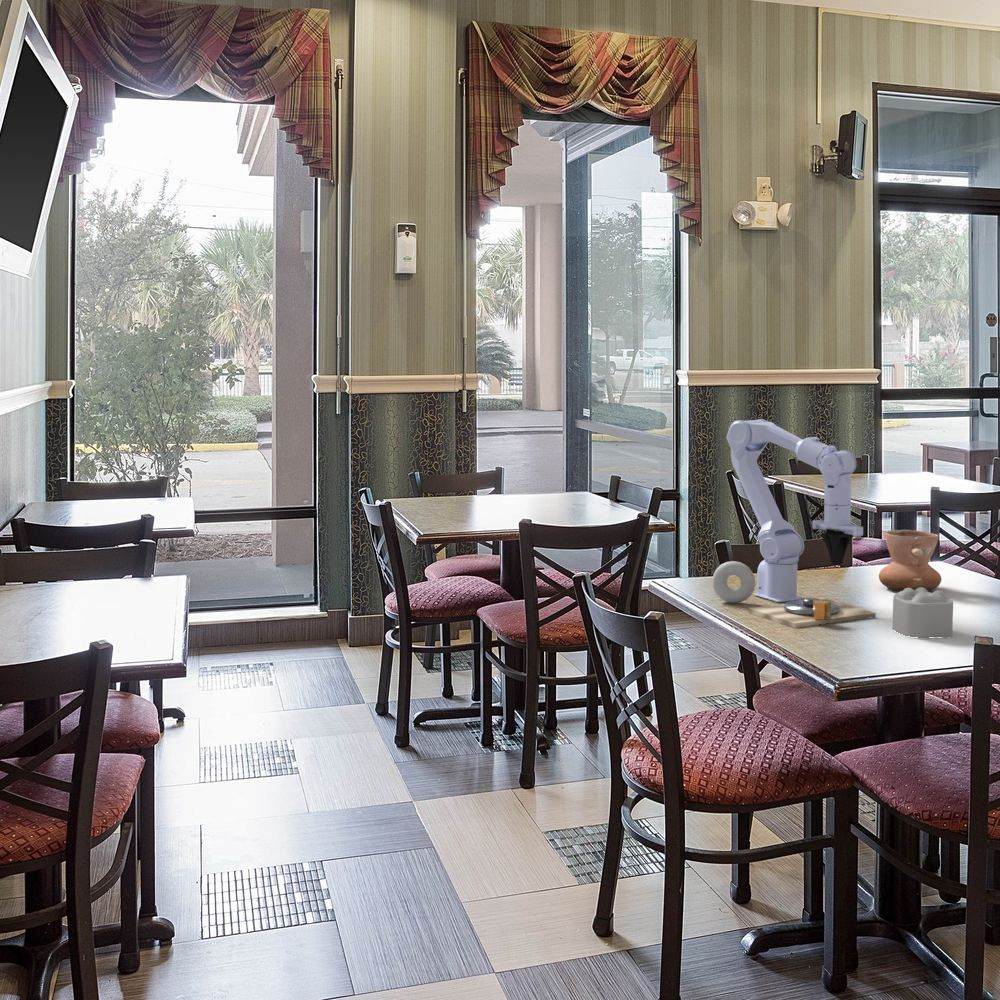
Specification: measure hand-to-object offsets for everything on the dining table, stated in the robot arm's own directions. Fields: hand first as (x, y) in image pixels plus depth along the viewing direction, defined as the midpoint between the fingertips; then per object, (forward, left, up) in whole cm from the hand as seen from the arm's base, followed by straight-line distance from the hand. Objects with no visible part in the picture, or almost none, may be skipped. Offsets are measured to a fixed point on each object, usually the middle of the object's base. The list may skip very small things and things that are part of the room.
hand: (836, 563), depth 244 cm
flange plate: (+4, -10, -9) cm, 14 cm away
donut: (-15, -17, -11) cm, 25 cm away
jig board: (+3, -9, -10) cm, 14 cm away
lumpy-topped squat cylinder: (+24, +2, -11) cm, 26 cm away
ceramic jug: (-9, +31, -11) cm, 34 cm away
